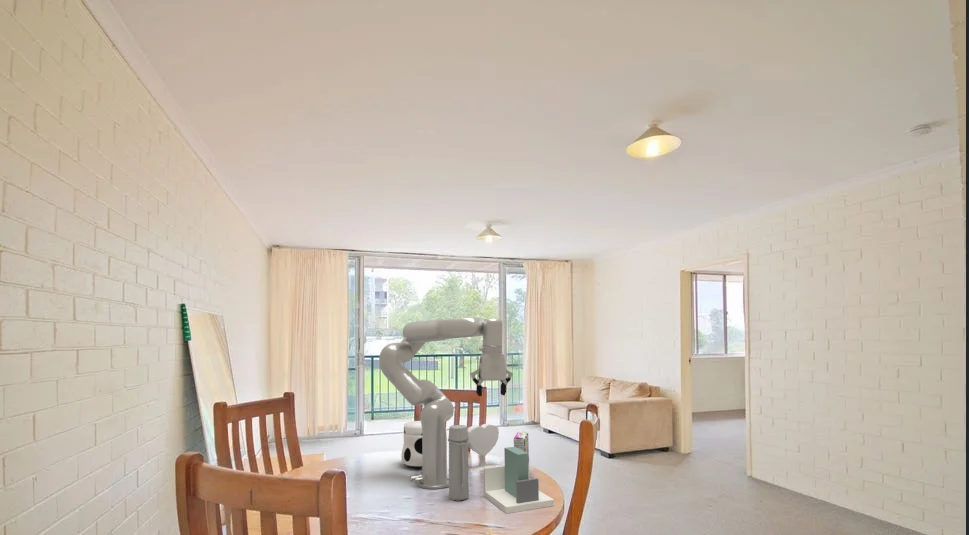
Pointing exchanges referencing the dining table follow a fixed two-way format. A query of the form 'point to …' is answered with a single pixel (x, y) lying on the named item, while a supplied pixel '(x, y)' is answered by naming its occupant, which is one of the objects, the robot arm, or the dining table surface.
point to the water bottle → (458, 462)
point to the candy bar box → (522, 442)
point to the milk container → (412, 444)
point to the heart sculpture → (482, 442)
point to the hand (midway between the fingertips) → (491, 395)
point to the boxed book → (515, 468)
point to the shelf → (525, 492)
